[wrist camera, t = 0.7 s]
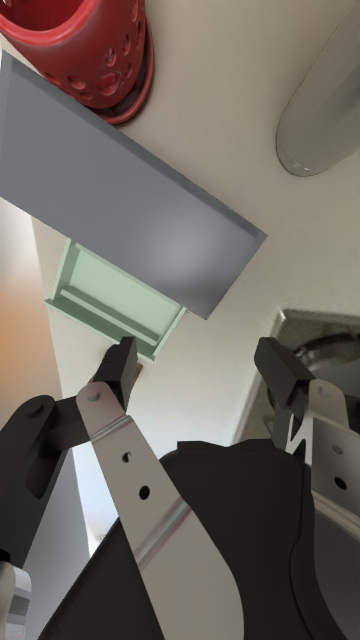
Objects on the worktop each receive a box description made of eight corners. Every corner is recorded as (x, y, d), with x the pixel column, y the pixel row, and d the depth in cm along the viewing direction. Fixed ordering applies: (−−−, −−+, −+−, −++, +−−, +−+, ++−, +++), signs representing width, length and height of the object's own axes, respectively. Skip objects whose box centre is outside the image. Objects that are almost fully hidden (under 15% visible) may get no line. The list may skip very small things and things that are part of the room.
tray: (87, 225, 28) (65, 221, 24) (194, 291, 31) (193, 299, 26) (63, 296, 34) (42, 304, 29) (157, 348, 36) (151, 363, 31)
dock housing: (105, 152, 25) (2, 49, 12) (235, 240, 28) (268, 235, 15) (76, 244, 31) (-18, 243, 17) (188, 311, 33) (180, 355, 20)
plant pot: (174, 5, 20) (144, -296, 9) (145, 151, 25) (102, 75, 14) (60, -44, 19) (-123, -429, 8) (54, 115, 24) (-65, 7, 13)
